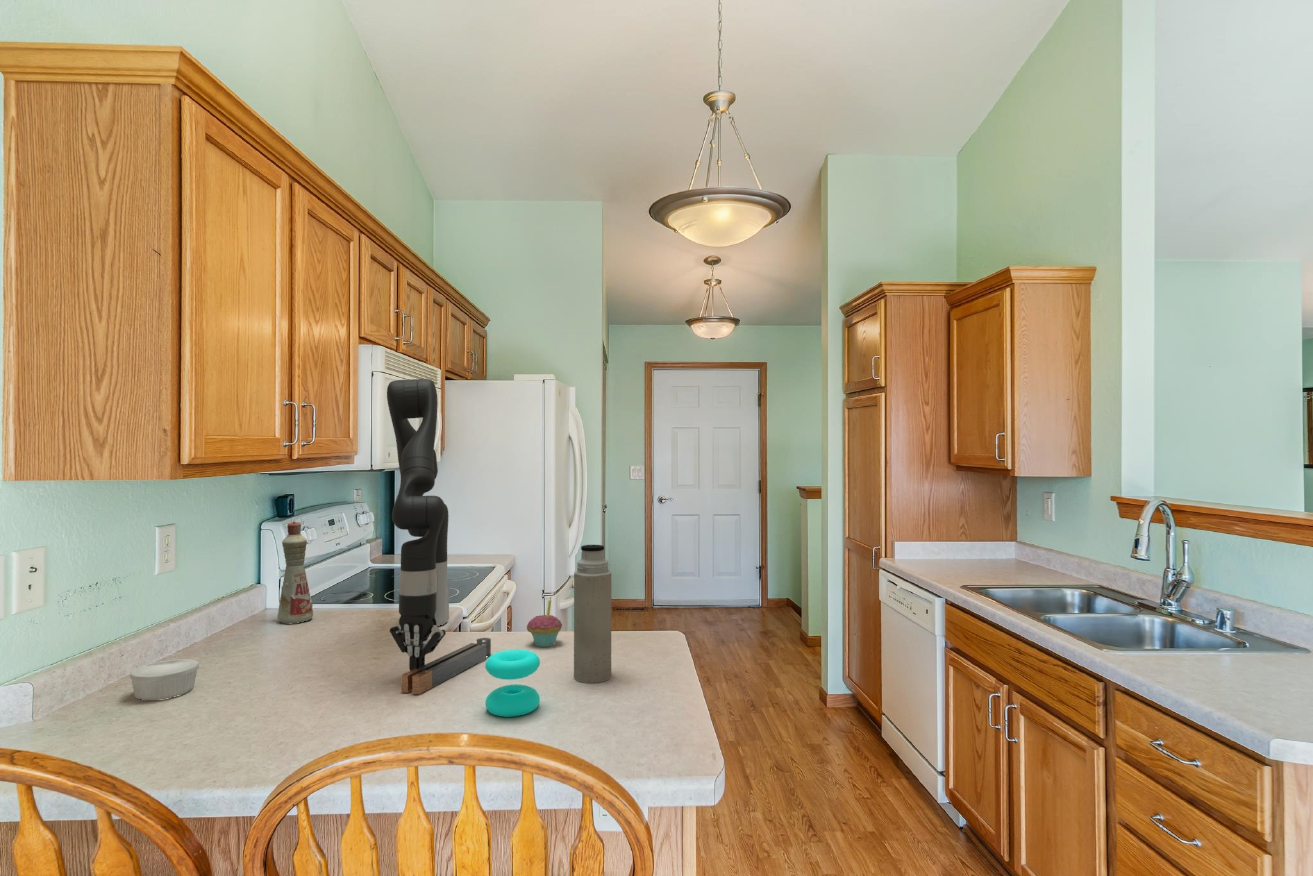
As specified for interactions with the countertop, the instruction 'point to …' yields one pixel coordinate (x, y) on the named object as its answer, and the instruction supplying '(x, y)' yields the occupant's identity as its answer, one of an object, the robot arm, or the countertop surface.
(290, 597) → the bottle
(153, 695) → the ramekin
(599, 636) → the thermos bottle
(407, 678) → the tongs arm
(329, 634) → the countertop surface
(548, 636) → the cupcake
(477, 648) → the base
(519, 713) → the donuts
